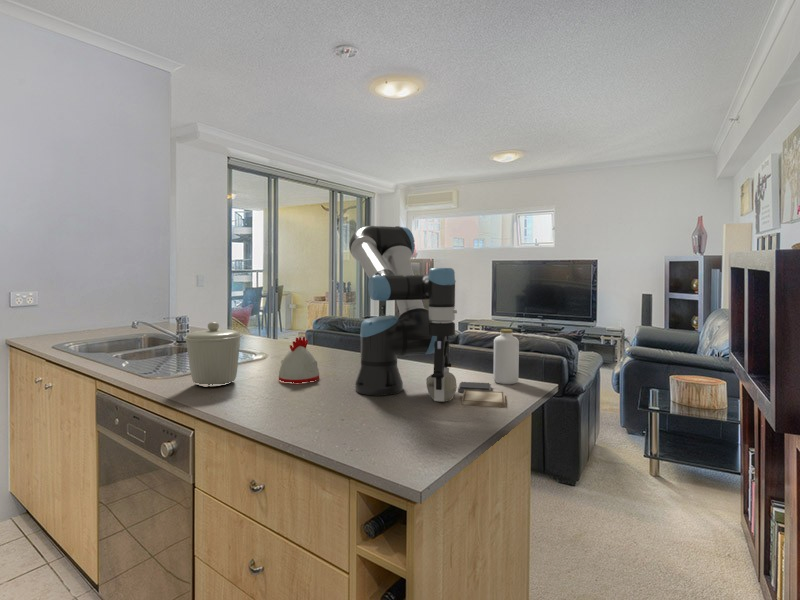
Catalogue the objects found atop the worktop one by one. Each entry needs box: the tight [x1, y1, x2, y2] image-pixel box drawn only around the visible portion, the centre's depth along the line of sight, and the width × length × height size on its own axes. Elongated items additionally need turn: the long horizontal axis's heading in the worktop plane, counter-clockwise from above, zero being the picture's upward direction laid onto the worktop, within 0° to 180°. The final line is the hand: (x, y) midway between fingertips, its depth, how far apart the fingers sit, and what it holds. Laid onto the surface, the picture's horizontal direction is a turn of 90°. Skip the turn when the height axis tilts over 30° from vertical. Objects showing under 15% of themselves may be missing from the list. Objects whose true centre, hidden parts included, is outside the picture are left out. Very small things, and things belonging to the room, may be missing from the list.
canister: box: [183, 321, 243, 385], centre depth 150 cm, size 18×18×21 cm
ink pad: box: [457, 381, 492, 393], centre depth 143 cm, size 10×8×2 cm
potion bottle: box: [492, 328, 520, 385], centre depth 152 cm, size 8×8×18 cm
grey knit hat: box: [278, 336, 320, 383], centre depth 157 cm, size 14×14×15 cm
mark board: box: [461, 390, 506, 408], centre depth 132 cm, size 12×12×1 cm
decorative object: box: [425, 371, 458, 403], centre depth 130 cm, size 9×9×10 cm
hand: (441, 394), depth 130 cm, fingers open, 13 cm apart
